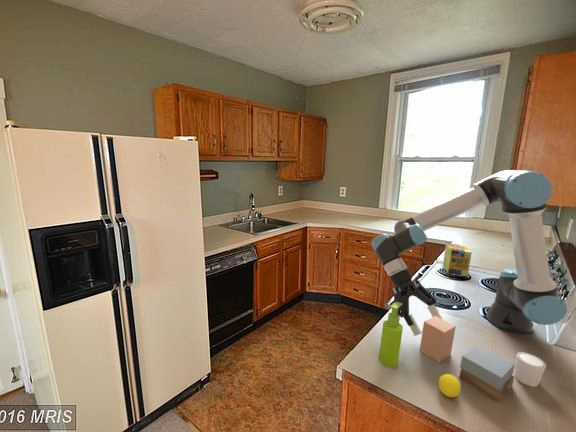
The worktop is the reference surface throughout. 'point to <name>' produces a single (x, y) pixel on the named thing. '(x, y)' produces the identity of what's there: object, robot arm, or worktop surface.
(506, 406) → the worktop surface
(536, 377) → the white cylinder
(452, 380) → the lemon
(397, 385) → the worktop surface
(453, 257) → the protein box
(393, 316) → the soap dispenser
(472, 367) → the tower top block
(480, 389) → the tower base block
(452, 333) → the terracotta block
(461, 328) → the worktop surface
